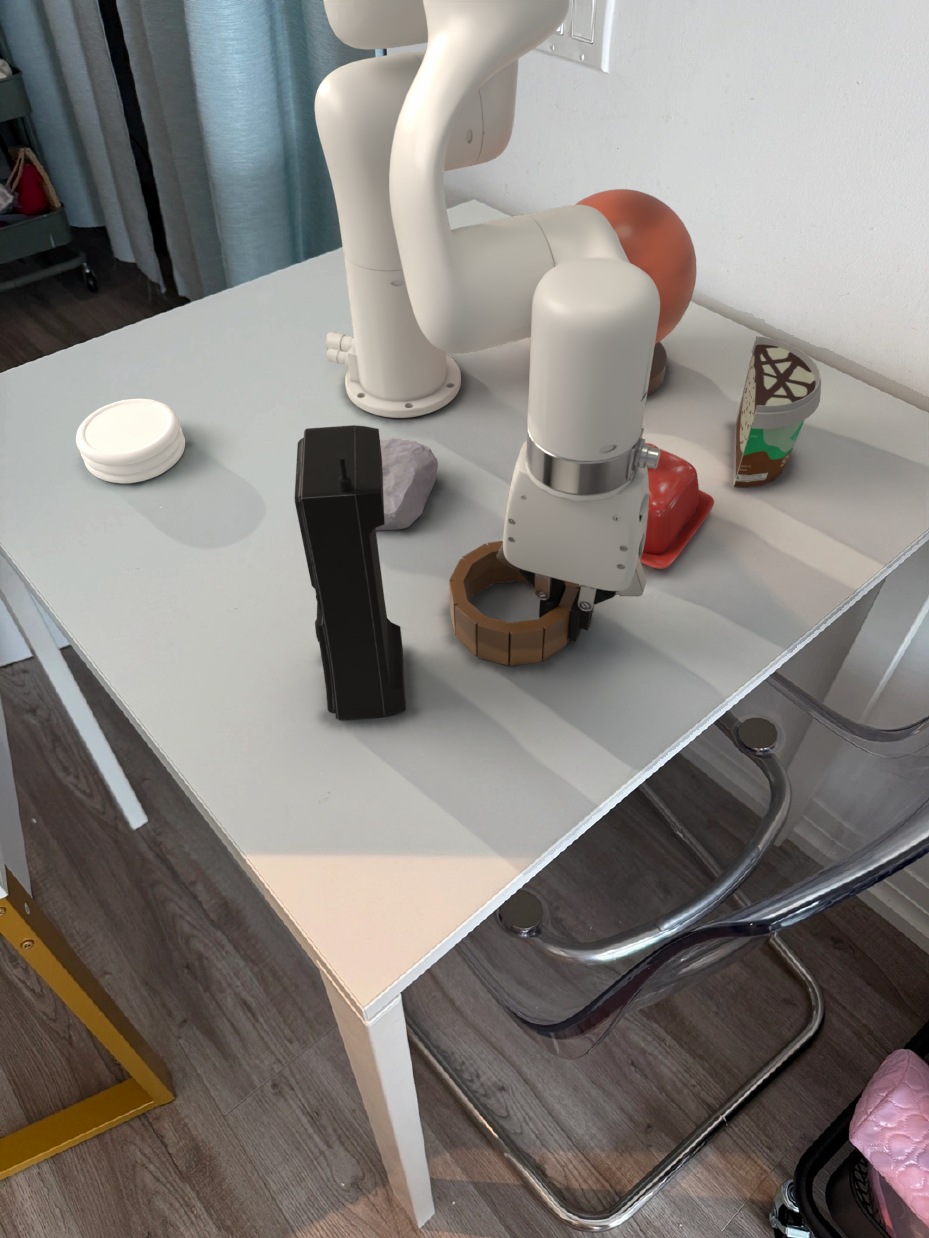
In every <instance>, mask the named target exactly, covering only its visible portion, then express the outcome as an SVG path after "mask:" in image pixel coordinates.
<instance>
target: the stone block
mask: <svg viewBox="0 0 929 1238" xmlns="http://www.w3.org/2000/svg"><path fill="white" fill-rule="evenodd" d="M380 445H381V454H382V471H383V497H384V523H385V524H384V525H382V526H379V527H377V528H376V532H377V531H378V532H379V531H394V530H403V529H407V528H409V527H410V526H411V525H412V524H414V522H415V521H417V520H418V518H420V517H421V516H422V515H423V514H424V509H425V506H426V503H427V500H428V497H429V496H430V495H431V492H432V490H433V487H434V485H435V484H436V481H437V479H438V469H439V462H438V458H436V456H435V453H434V452H433V451H432V449H431V448H429V447H428V446H427V445H425V444H421V443H419V442H418V441H415V440H410V439H402V438H394V437H390V438H389V437H388V438H383V439H381V438H380Z"/></svg>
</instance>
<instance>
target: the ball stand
mask: <svg viewBox="0 0 929 1238" xmlns="http://www.w3.org/2000/svg"><path fill="white" fill-rule="evenodd" d="M574 205H586V206H590V207H593V208H595V209H596V210H598V211H599V212H601V213H602V214H603V215H604V216H605V217H606V219H607V220H608V221H609V223H610V224H611V226H612V228H613V229H614V230H615V232H616V234H617V236H618V238H619V241H620V243H621V246H622V248H623V250H624V252H625V254H626V256H627V258H628V260H629V262H630V263H631V264H633V265H635V266H637V267H638V268H640V269H641V270H643V271H644V272H645V273H646V274H648V275H649V276H650V278H651V279H652V280H653V282H654V283H655V285H656V287H657V289H658V293H659V298H660V314H659V321H658V327H657V334H656V340H655V347H654V353H653V359H652V366H651V372H650V379H649V385H648V392H647V397H648V396H650V395H651V394H653V393H655V392H656V391H657V389H659V388H660V386H661V385H662V384H663V382H664V379H665V374H666V368H667V362H668V355H667V351H666V348H665V347H664V345H663V344H662V343H661V342H662V341H664V339H665V338H666V337H668V335H670V334H671V333H672V331H673V330H675V328H676V327H677V325H678V324H679V323H680V322H681V320H682V318H683V317H684V315H685V313H686V312H687V310H688V308H689V307H690V304H691V301H692V298H693V295H694V290H695V288H696V282H697V257H696V251H695V246H694V243H693V240H692V237H691V234H690V233H689V231H688V229H687V227H686V225H685V224H684V222H683V220H682V219H681V218H680V216H679V215H678V214H677V212H675V210H673V209H672V208H671V207H670V206H669V205H668V204H666V203H665V202H664V201H662V200H661V199H659V198H657V197H656V196H654V195H651V194H649V193H646V192H642V191H639V190H635V189H629V188H628V189H627V188H625V189H624V188H615V189H614V188H613V189H609V190H603V191H598V192H596V193H593V194H591V195H589V196H586V197H585V198H582V199H581V200H579V201H577V202H576V203H575V204H574Z"/></svg>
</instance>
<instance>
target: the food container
mask: <svg viewBox="0 0 929 1238" xmlns="http://www.w3.org/2000/svg"><path fill="white" fill-rule="evenodd" d="M821 392H822V379H821V374H820V369H819V368H818V366H817V363H815V362H814V359H812V358H811V357H810V356H809V355H808V354H807V353H805V351H803V350H801V349H800V348H798V347H796V346H794V345H792V344H790V343H787V342H784V341H782V340H779V339H776V338H770V337H766V336H759V335H756V336H755V339H754V342H753V346H752V348H751V357H750V361H749V365H748V369H747V372H746V378H745V382H744V386H743V390H742V394H741V398H740V403H739V408H738V412H737V416H736V420H735V425H734V437H733V438H734V443H733V487H734V488H752V487H759V486H763V485H766V484H769V483H771V482H774V481H775V480H776V479H778V478H779V477H780V476H781V475H782V474H783V473H784V470H785V468H786V466H787V464H788V461H789V458H790V456H791V454H792V451H793V449H794V447H795V444H796V442H797V439H798V437H799V436H800V433H801V430H802V428H803V426H804V423H805V420H807V419H809V418H810V417H811V416H812V415H813V414H814V413H815V412H816V411H817V409H818V407H819V405H820V403H821V394H822V393H821Z"/></svg>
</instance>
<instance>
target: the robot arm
mask: <svg viewBox="0 0 929 1238" xmlns="http://www.w3.org/2000/svg"><path fill="white" fill-rule="evenodd" d="M322 1H323V6H324V11H325V15H326V17H327V20H328V21H327V22H328V23H329V26H330V28H331V29H332V31H333V33H334V35H335V36H336V37H337V39H339V40H340V41H341V42H342V43H343V44H345V45H347V46H349V47H352V48H354V49H359V50H385V49H394V48H403V47H408V46H414V45H415V46H416V45H420V44H426V43H427V46H426V49H424V50H417V51H405V52H398V53H393V54H388V55H381V56H375V57H370V58H364V59H360V60H356V61H351V62H349V63H346V64H344V65H341V66H339V67H338V68H335V69H334V70H332V71H331V72H330V73H329V74H327V75H326V76H325V77H324V79H323V80H322V81H321V83H320V84H319V86H318V88H317V90H316V93H315V97H314V118H315V124H316V129H317V133H318V137H319V141H320V144H321V147H322V152H323V155H324V156H323V157H324V158H325V163H326V166H327V170H328V173H329V177H330V181H331V186H332V190H333V195H334V199H335V204H336V205H335V206H336V210H337V217H338V223H339V231H340V238H341V245H342V246H341V247H342V252H343V261H344V267H345V268H344V270H345V277H346V285H347V292H348V301H349V308H350V316H351V325H352V333H353V336H352V335H351V336H350V335H346V334H344V333H338V332H333V331H329V332H328V333H327V335H326V337H325V348H326V349H327V351H326V361H328V362H331V363H334V364H335V363H336V364H345V366H346V367H347V368H348V369H347V371H346V374H345V377H344V383H345V384H344V385H345V390H346V394H347V396H348V398H349V399H350V401H351V402H352V403H353V404H354V405H355V406H357V408H360V409H361V410H363V411H365V412H367V413H369V414H373V415H375V416H380V417H384V418H393V419H394V418H395V419H405V418H406V419H407V418H408V419H409V418H415V417H421V416H424V415H427V414H428V415H429V414H430V413H433V412H436V411H438V410H440V409H442V408H444V407H445V406H446V405H448V404H449V403H450V402H452V401H453V400H454V399H455V398H456V396H457V395H458V394H459V391H460V389H461V387H462V371H461V369H460V365H459V364H458V362H457V361H456V360H455V359H454V358H452V357H451V356H450V355H449V354H456V355H460V354H471V353H473V352H474V353H475V352H478V351H483V350H488V349H492V348H495V347H500V346H503V345H508V344H511V343H514V342H518V341H521V340H527V339H530V351H529V353H530V355H529V356H530V357H529V381H528V382H529V384H528V398H527V399H528V401H527V402H528V403H527V424H526V440H525V441H524V442H523V443H522V446H521V447H520V450H519V453H518V456H517V459H516V462H515V465H514V469H513V474H512V476H511V477H512V478H511V482H510V487H509V492H508V497H507V498H508V499H507V504H506V510H505V518H504V525H503V534H502V535H503V536H502V541H503V544H502V545H501V547H500V549H499V551H498V553H497V556H496V558H497V560H498V561H500V562H501V563H503V564H505V565H507V566H509V567H511V568H513V569H515V570H517V569H518V570H520V573H521V575H522V576H523V577H524V578H525V579H526V580H527V581H528V582H529V583H530V584H531V585H530V584H529V585H530V586H532V587H533V588H534V595H535V597H536V598H537V599H538V600H539V609H538V619H539V618H541V617H542V616H544V615H545V614H547V613H548V612H550V611H551V610H553V609H554V608H556V607H557V606H558V604H559V602H560V600H561V597H562V595H563V592H564V585H565V582H564V581H568V582H572V583H576V584H579V585H580V587H579V590H578V592H577V595H576V597H575V600H574V602H573V605H572V607H571V610H570V619H569V629H568V639H570V640H569V642H572V643H574V644H575V643H577V641H578V638H579V636H580V633H581V630H584V631H589V629H590V627H591V624H592V620H593V616H594V609H595V608H594V607H595V605H598V604H601V603H604V602H606V601H609V600H611V599H613V598H615V596H619V597H641V596H643V594H644V591H645V588H646V586H647V578H646V575H645V571H644V567H643V564H642V563H641V561H640V559H641V556H642V553H643V549H644V544H645V537H646V529H647V519H648V506H649V479H648V470H647V467H649V468H653V469H656V468H657V465H658V462H659V458H660V453H661V450H662V449H661V448H659V449H657V448H653V447H650V445H648V444H645V443H646V439H645V438H643V435H644V429H645V427H643V421H644V416H645V410H646V404H647V397H648V396H647V392H648V385H649V379H650V372H651V366H652V359H653V353H654V347H655V340H656V334H657V327H658V321H659V314H660V298H659V293H658V289H657V287H656V285H655V283H654V282H653V280H652V279H651V278H650V276H649V275H648V274H646V273H645V272H644V271H643V270H641V269H640V268H638V267H637V266H635V265H633V264H631V263H630V262H629V260H628V258H627V256H626V254H625V252H624V250H623V248H622V246H621V243H620V241H619V238H618V236H617V234H616V232H615V230H614V229H613V228H612V226H611V224H610V223H609V221H608V220H607V219H606V217H605V216H604V215H603V214H602V213H601V212H599V211H598V210H596V209H595V208H593V207H590V206H586V205H575V204H569V205H564V206H563V205H562V206H559V207H553V208H548V209H545V210H544V209H543V210H540V211H535V212H531V213H527V214H517V215H514V216H509V217H503V218H499V219H495V220H489V221H486V222H481V223H476V224H472V225H471V224H470V225H466V226H461V227H457V228H453V229H452V228H451V225H450V221H449V214H448V209H447V203H446V192H445V172H448V171H453V170H457V169H463V168H467V167H473V166H477V165H481V164H485V163H488V162H490V161H493V160H495V159H496V158H498V157H499V156H501V155H502V154H503V153H504V151H505V150H506V149H507V147H508V145H509V143H510V140H511V137H512V134H513V128H514V124H515V123H514V122H515V115H516V105H517V104H516V103H517V89H518V88H517V87H518V73H519V59H520V58H522V57H523V56H525V55H527V54H528V53H530V52H531V51H533V50H534V49H536V48H537V47H539V46H541V45H542V44H543V43H545V42H546V41H547V40H548V39H550V38H551V37H552V36H553V35H554V34H556V32H557V31H558V30H559V28H561V26H562V25H563V24H564V22H565V20H566V18H567V15H568V13H569V9H570V0H322ZM563 580H564V581H563Z"/></svg>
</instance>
